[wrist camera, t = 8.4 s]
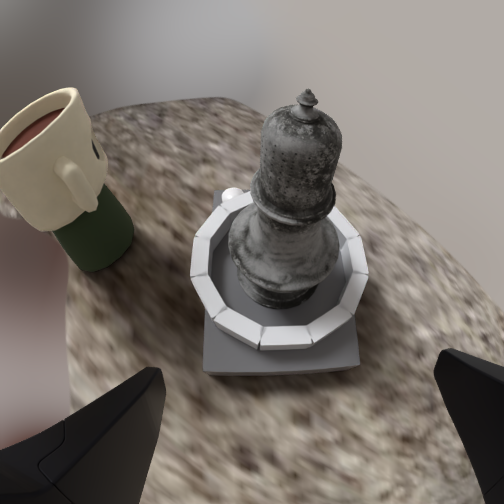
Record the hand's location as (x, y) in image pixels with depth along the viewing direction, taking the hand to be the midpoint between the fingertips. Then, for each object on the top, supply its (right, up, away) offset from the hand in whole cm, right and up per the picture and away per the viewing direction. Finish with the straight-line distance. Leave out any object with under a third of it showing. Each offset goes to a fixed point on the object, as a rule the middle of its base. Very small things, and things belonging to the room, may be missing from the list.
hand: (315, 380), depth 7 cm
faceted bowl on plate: (0, +2, +13) cm, 13 cm away
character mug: (-14, +4, +14) cm, 21 cm away
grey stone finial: (0, +3, +10) cm, 11 cm away
